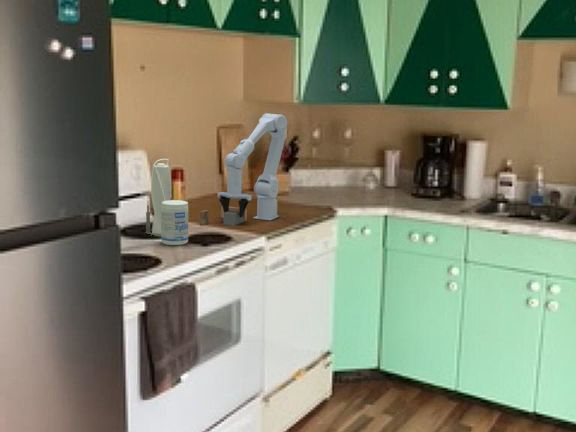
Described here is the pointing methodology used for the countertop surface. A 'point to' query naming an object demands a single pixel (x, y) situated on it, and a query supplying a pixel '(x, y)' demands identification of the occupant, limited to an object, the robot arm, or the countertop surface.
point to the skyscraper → (158, 195)
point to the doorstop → (232, 218)
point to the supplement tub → (174, 222)
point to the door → (234, 211)
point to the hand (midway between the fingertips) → (234, 216)
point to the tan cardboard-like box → (204, 217)
